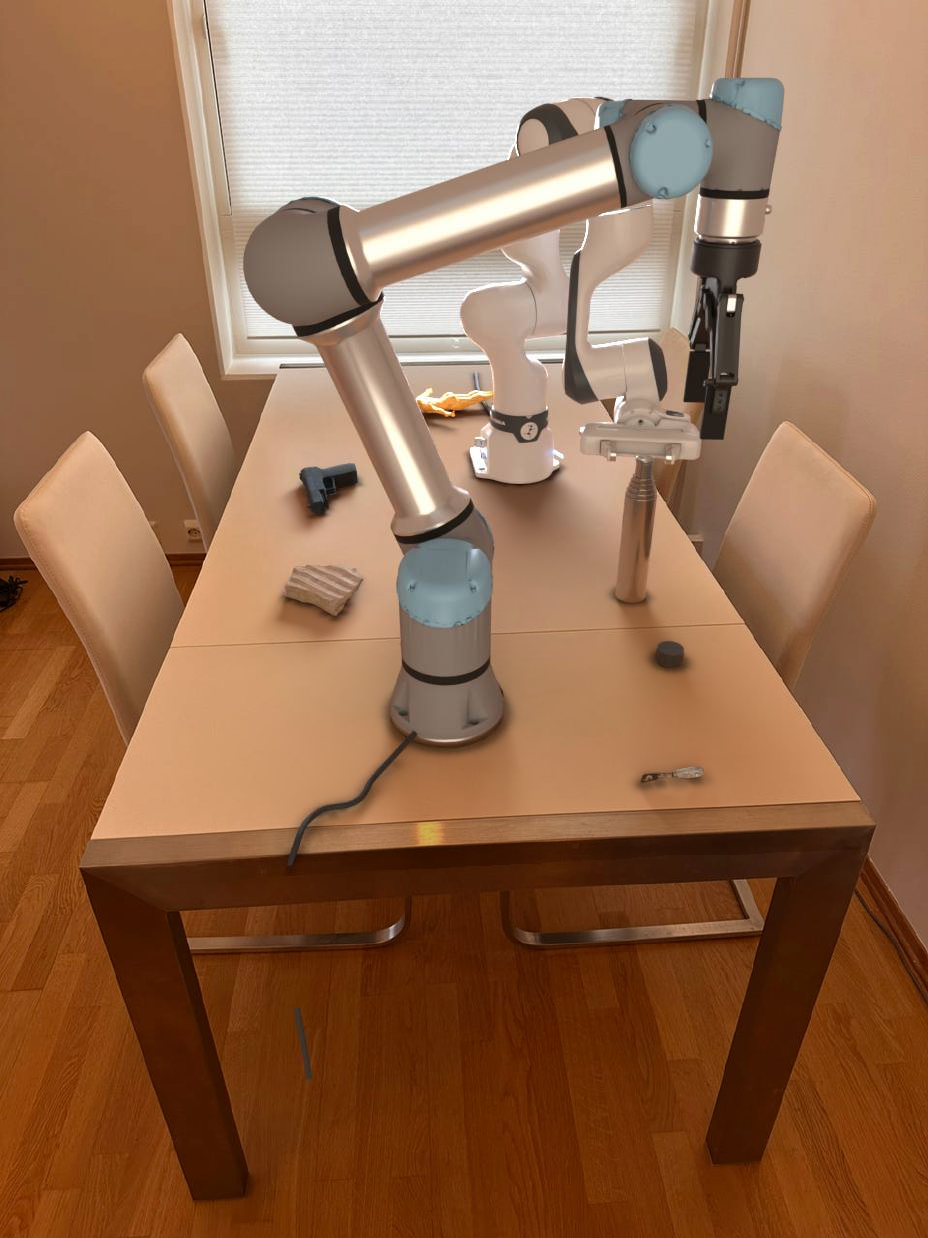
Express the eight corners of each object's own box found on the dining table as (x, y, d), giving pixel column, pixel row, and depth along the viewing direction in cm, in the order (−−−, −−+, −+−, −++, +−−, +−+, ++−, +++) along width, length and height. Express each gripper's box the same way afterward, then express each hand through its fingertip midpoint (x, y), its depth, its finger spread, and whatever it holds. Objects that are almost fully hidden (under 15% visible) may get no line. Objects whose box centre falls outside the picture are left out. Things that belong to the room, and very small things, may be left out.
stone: (372, 582, 151) (371, 569, 149) (337, 617, 141) (336, 603, 140) (307, 569, 155) (305, 556, 154) (268, 602, 146) (266, 588, 144)
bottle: (614, 601, 146) (628, 462, 133) (616, 586, 150) (629, 450, 137) (644, 604, 145) (661, 465, 132) (645, 589, 149) (661, 453, 136)
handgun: (369, 509, 176) (308, 516, 174) (354, 474, 190) (298, 480, 188) (368, 494, 174) (307, 501, 172) (353, 460, 189) (296, 466, 186)
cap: (663, 670, 129) (665, 657, 128) (650, 655, 132) (652, 643, 131) (687, 665, 130) (689, 653, 129) (674, 651, 133) (676, 638, 132)
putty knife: (703, 777, 109) (705, 767, 109) (642, 788, 108) (644, 777, 107) (700, 772, 110) (702, 762, 109) (639, 782, 109) (640, 771, 108)
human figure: (395, 413, 223) (394, 398, 221) (438, 390, 237) (438, 375, 235) (462, 429, 215) (462, 413, 213) (502, 404, 229) (503, 388, 227)
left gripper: (788, 257, 90) (753, 457, 101) (740, 220, 111) (715, 388, 122) (713, 257, 90) (686, 455, 101) (679, 220, 111) (660, 387, 123)
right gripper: (580, 409, 158) (578, 437, 146) (699, 414, 155) (706, 442, 143) (578, 443, 161) (575, 473, 149) (694, 448, 158) (700, 479, 147)
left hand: (702, 419), depth 112 cm, fingers open, 13 cm apart
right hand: (640, 458), depth 146 cm, fingers open, 8 cm apart
